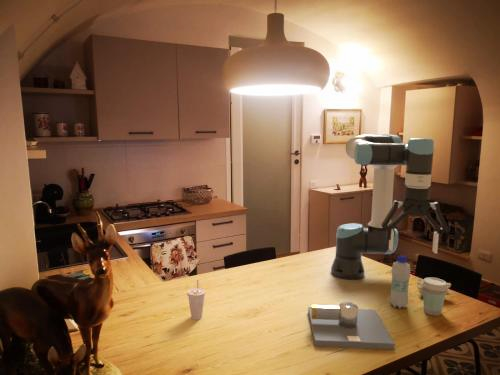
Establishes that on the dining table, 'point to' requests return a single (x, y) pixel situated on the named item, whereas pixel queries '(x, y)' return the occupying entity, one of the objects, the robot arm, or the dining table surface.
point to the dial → (337, 313)
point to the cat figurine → (422, 287)
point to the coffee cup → (433, 295)
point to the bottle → (400, 282)
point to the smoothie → (196, 301)
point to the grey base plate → (352, 332)
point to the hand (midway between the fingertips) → (412, 250)
